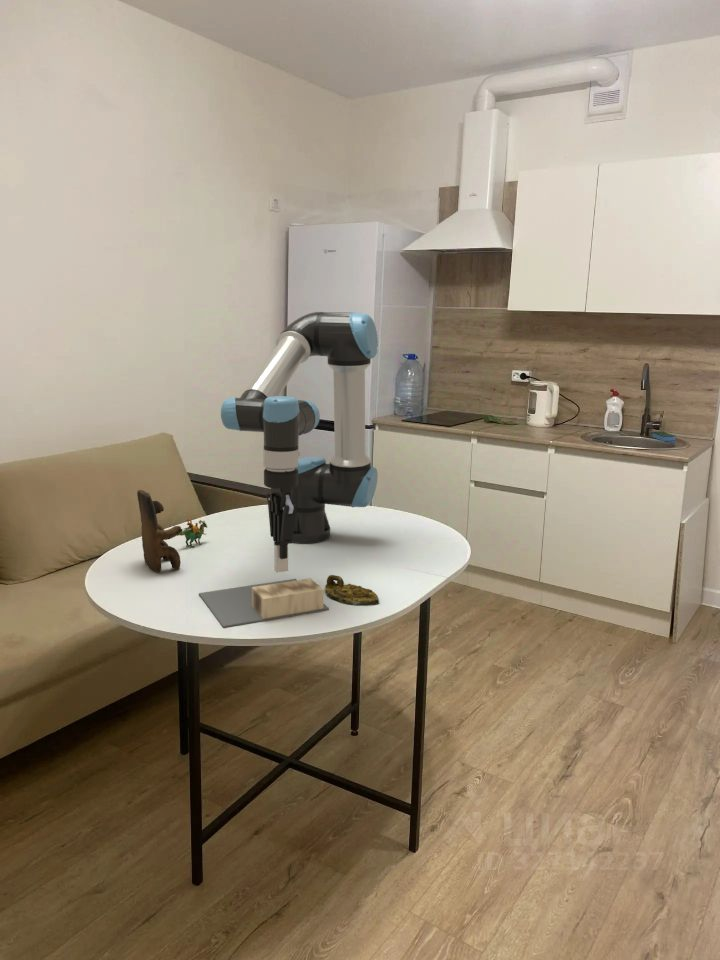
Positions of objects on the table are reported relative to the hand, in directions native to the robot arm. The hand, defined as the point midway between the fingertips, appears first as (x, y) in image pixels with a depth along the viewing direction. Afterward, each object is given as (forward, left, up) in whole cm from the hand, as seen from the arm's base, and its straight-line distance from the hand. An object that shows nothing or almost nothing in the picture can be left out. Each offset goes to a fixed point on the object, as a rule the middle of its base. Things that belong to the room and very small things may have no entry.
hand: (281, 570), depth 164 cm
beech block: (+7, +4, -5) cm, 10 cm away
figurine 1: (+20, -35, -8) cm, 41 cm away
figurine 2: (+9, -48, -8) cm, 49 cm away
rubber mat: (+4, -2, -8) cm, 9 cm away
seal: (-16, +3, -8) cm, 18 cm away
